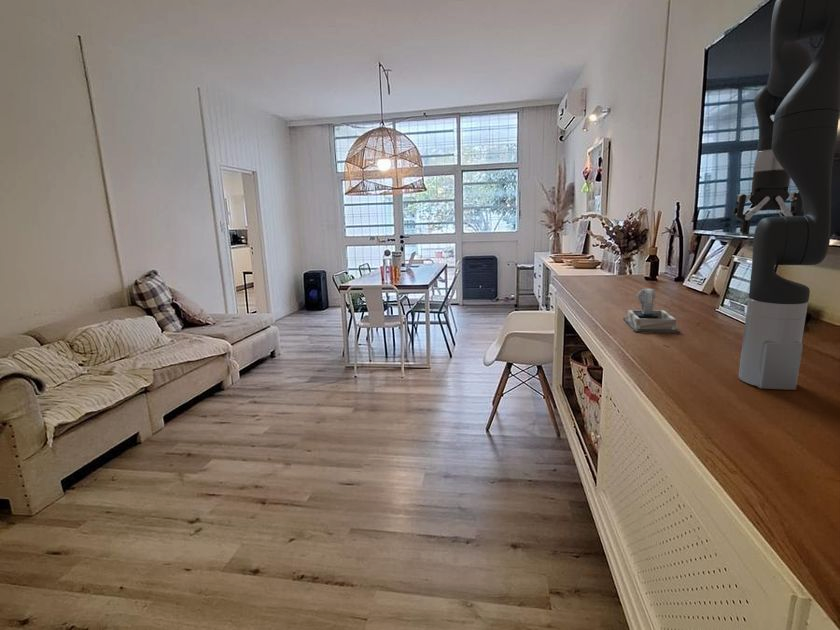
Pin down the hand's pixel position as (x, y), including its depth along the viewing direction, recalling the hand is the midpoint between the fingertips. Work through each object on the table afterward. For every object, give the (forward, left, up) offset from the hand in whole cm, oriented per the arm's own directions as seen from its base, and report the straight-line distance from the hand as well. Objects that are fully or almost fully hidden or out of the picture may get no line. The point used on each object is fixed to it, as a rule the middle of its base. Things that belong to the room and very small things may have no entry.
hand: (763, 234), depth 114 cm
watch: (+9, +24, -27) cm, 38 cm away
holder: (+9, +23, -28) cm, 37 cm away
